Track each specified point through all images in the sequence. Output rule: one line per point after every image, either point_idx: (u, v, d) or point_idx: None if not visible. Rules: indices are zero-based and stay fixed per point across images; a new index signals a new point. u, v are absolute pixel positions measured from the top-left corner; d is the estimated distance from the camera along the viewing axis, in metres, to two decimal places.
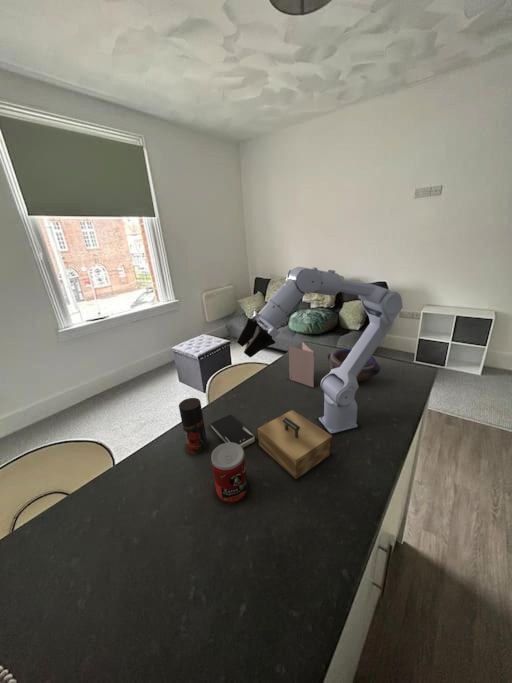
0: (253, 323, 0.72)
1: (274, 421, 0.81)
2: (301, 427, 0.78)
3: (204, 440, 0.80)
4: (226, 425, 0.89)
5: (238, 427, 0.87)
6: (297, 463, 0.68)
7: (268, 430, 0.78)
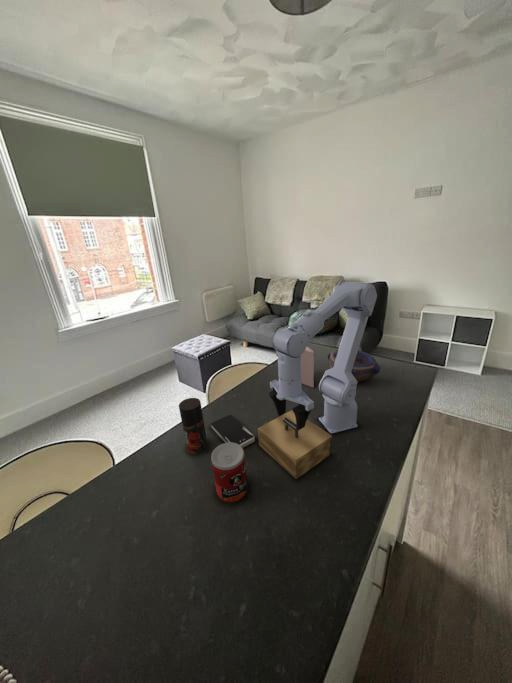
0: None
1: (274, 421, 0.81)
2: None
3: (204, 440, 0.80)
4: (226, 425, 0.89)
5: (238, 427, 0.87)
6: (297, 463, 0.68)
7: (268, 430, 0.78)
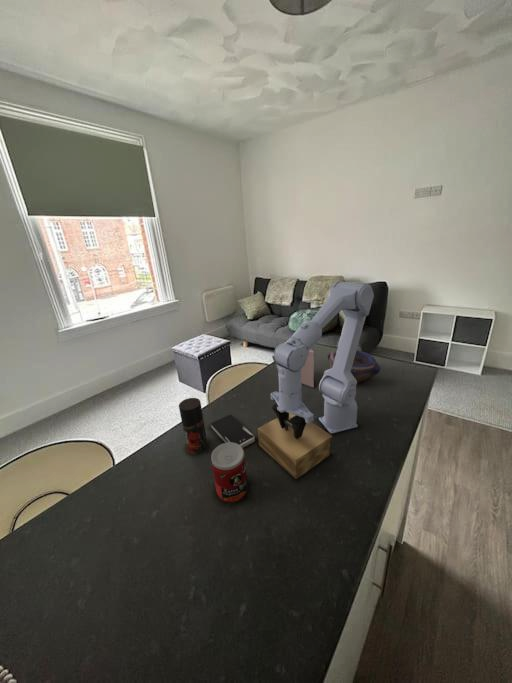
0: None
1: (274, 421, 0.81)
2: None
3: (204, 440, 0.80)
4: (226, 425, 0.89)
5: (238, 427, 0.87)
6: (297, 463, 0.68)
7: (268, 430, 0.78)
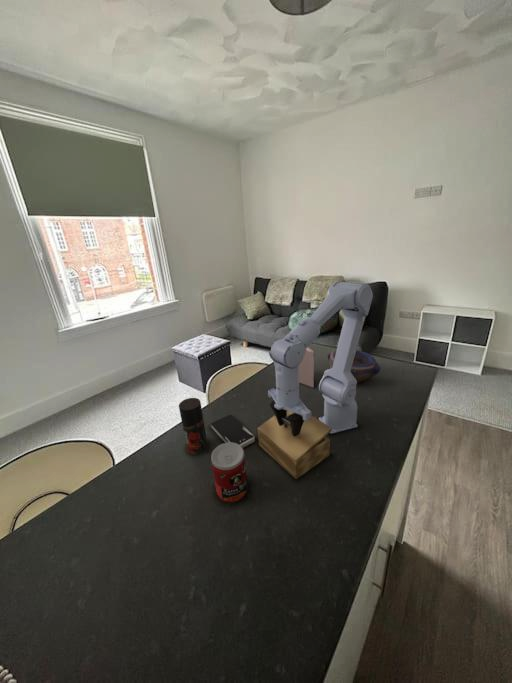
0: None
1: (273, 418, 0.81)
2: None
3: (204, 440, 0.80)
4: (226, 425, 0.89)
5: (238, 427, 0.87)
6: (297, 463, 0.68)
7: (268, 429, 0.78)
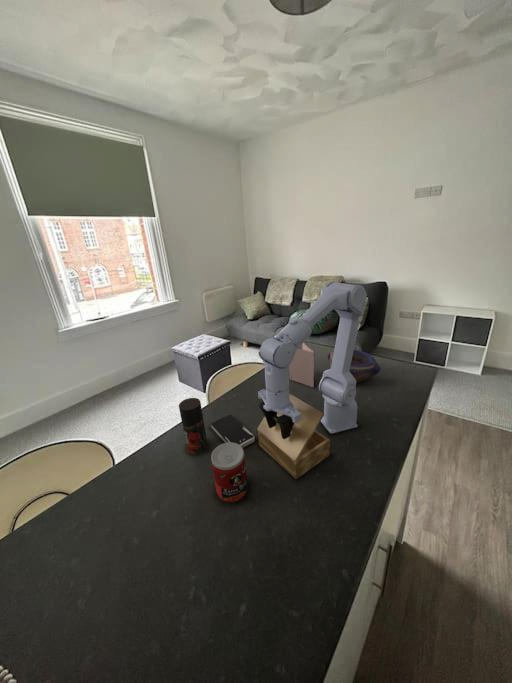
0: None
1: None
2: None
3: (204, 440, 0.80)
4: (226, 425, 0.89)
5: (238, 427, 0.87)
6: (297, 463, 0.68)
7: (266, 428, 0.77)
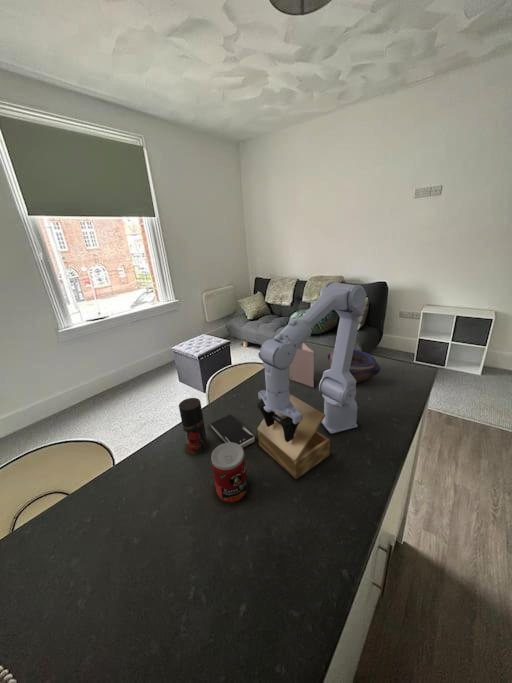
0: None
1: None
2: None
3: (204, 440, 0.80)
4: (226, 425, 0.89)
5: (238, 427, 0.87)
6: (297, 463, 0.68)
7: (266, 428, 0.77)
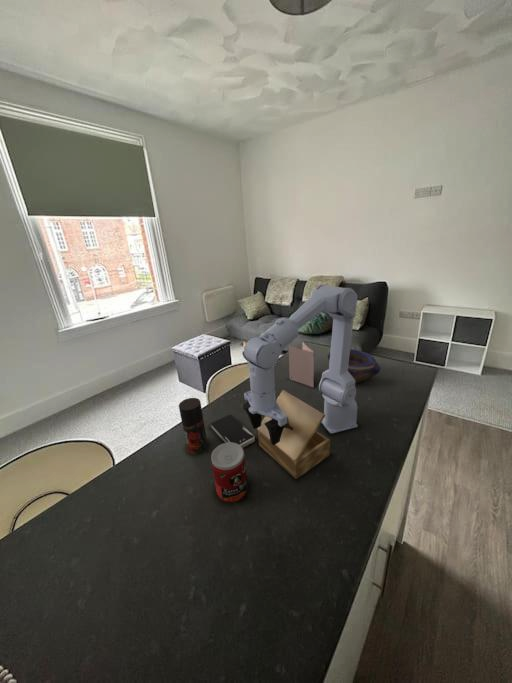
0: None
1: None
2: (294, 413, 0.74)
3: (204, 440, 0.80)
4: (226, 425, 0.89)
5: (238, 427, 0.87)
6: (297, 463, 0.68)
7: (266, 428, 0.77)
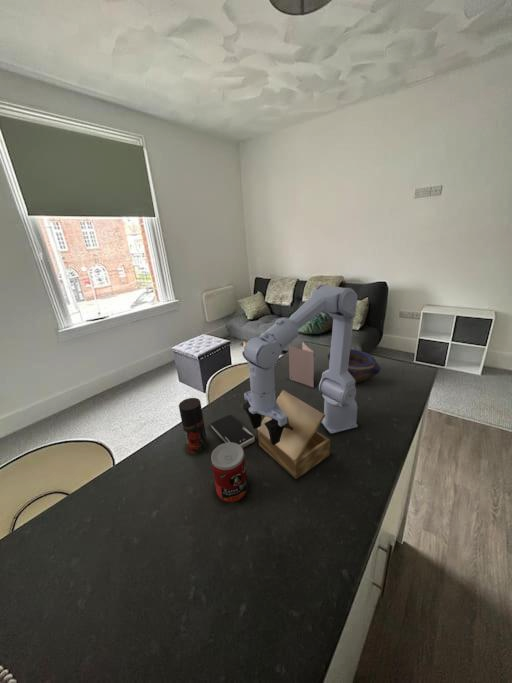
0: None
1: None
2: (294, 413, 0.74)
3: (204, 440, 0.80)
4: (226, 425, 0.89)
5: (238, 427, 0.87)
6: (297, 463, 0.68)
7: (266, 428, 0.77)
